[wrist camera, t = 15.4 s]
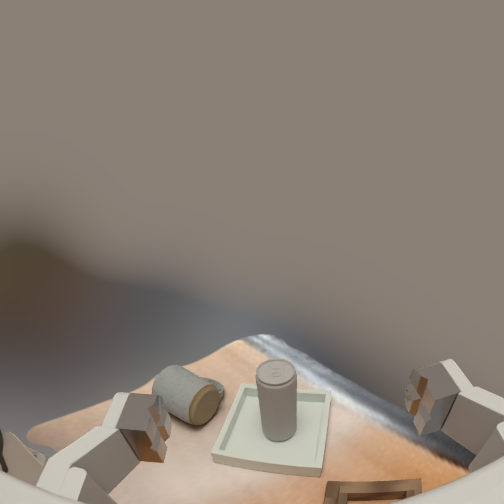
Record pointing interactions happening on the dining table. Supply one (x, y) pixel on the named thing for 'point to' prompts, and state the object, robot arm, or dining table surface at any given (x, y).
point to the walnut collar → (371, 490)
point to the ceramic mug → (188, 394)
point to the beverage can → (277, 398)
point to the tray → (269, 451)
